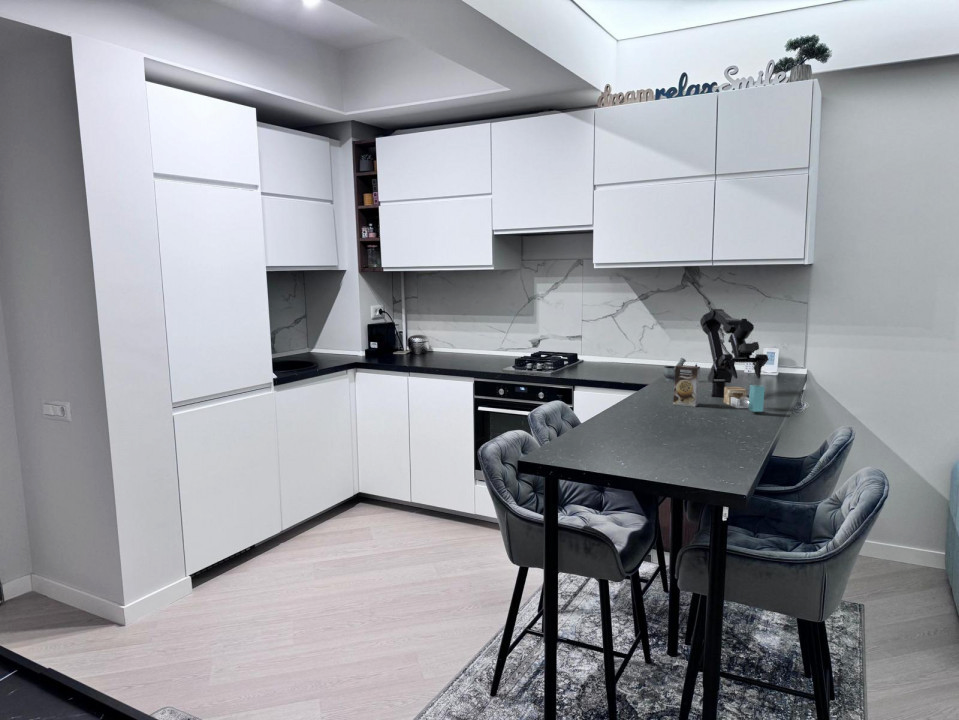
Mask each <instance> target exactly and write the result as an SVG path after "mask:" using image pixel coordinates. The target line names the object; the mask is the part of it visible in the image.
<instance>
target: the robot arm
mask: <svg viewBox="0 0 959 720" xmlns="http://www.w3.org/2000/svg"><path fill="white" fill-rule="evenodd" d="M699 323H700V326H701V328H702V331H703V332H704V333H705V334H706V335H707V337H708V344H709V348H710V352H711V357H712V358H711V359H712V361H713V362H712V365H711V367H710V371H709V374H708V376H707V382H709V383H711V392H710V393H709V395H710V396H711V397H714V398H715V397H716V398H717V397H719V398H721V397H722V398H724V389H725V387H727V385H726V384H727V383H729V384H730V383H731V381H732V379H733V378H734V379H737V380H738V374H737V373H738V372H737V369H736V367H735V366H736V365H735V363H749V364H752V365H753V370H754V372H755V375H756V377H757V379H758V380H759V379H760V378H761V373H762V367H764V366H765V365H767V363H768V361H769V356H768V355H767V354H765V353H764V354H763V353H758V354H756V355H755V356H754V357H751V356H752V355H753V352H756V351H759V350H760V345H759V341H753V342H747V341H746V340H747V339H748V338H749V337H750V335H751V333H752V332H753V331H754V327H755V325H754V324H753V323H752V322H751V321H749V320H748V319H747V318H741V319H740V318H735V317H734V318H733V317H732V316H731V315H730V314H729V313H727V312H726V311H725V310H724V309H722V308H712V309H711V310H710V311H709V312H706V313H705V314H703V315H702V316H701V318H700V322H699ZM721 326H722V330H723V331H724V332H725V333H726V334H730V336H729V338H728V340H727V341H728V343H730V346H731V349H732V350H731V353H724V351H723V346H722V342H721V338H720V333H719V331H720V329H721ZM732 377H733V378H732Z"/></svg>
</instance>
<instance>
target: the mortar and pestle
mask: <svg viewBox="0 0 959 720" xmlns="http://www.w3.org/2000/svg"><path fill="white" fill-rule="evenodd" d="M686 362H687V360H686V358H684V357H681V358H680V360H679V361H678V363H677V364H676V365H675V366H677V365H685V364H684V363H686ZM675 366H674V365H664V366H663V365H662V373H663V375H664V377H665V382H668V381H669V383H674V382H675Z"/></svg>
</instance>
